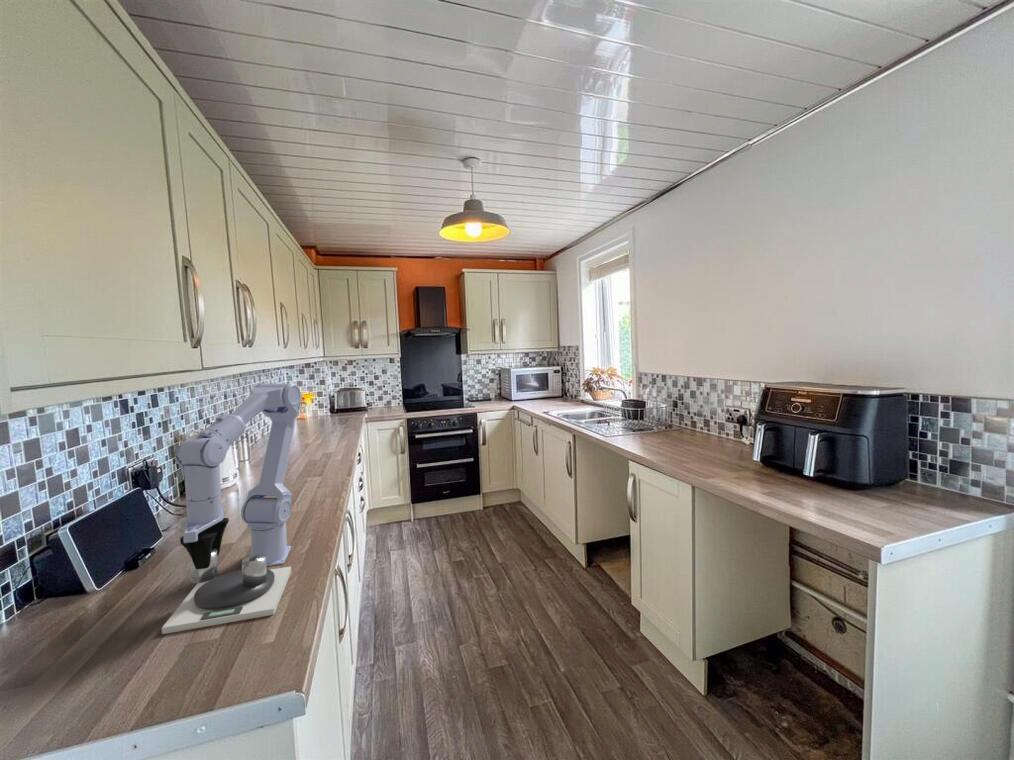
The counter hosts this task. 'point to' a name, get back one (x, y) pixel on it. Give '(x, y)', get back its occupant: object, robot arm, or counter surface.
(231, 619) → the scale base
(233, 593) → the scale pan
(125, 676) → the counter surface
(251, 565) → the cylinder
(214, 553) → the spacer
